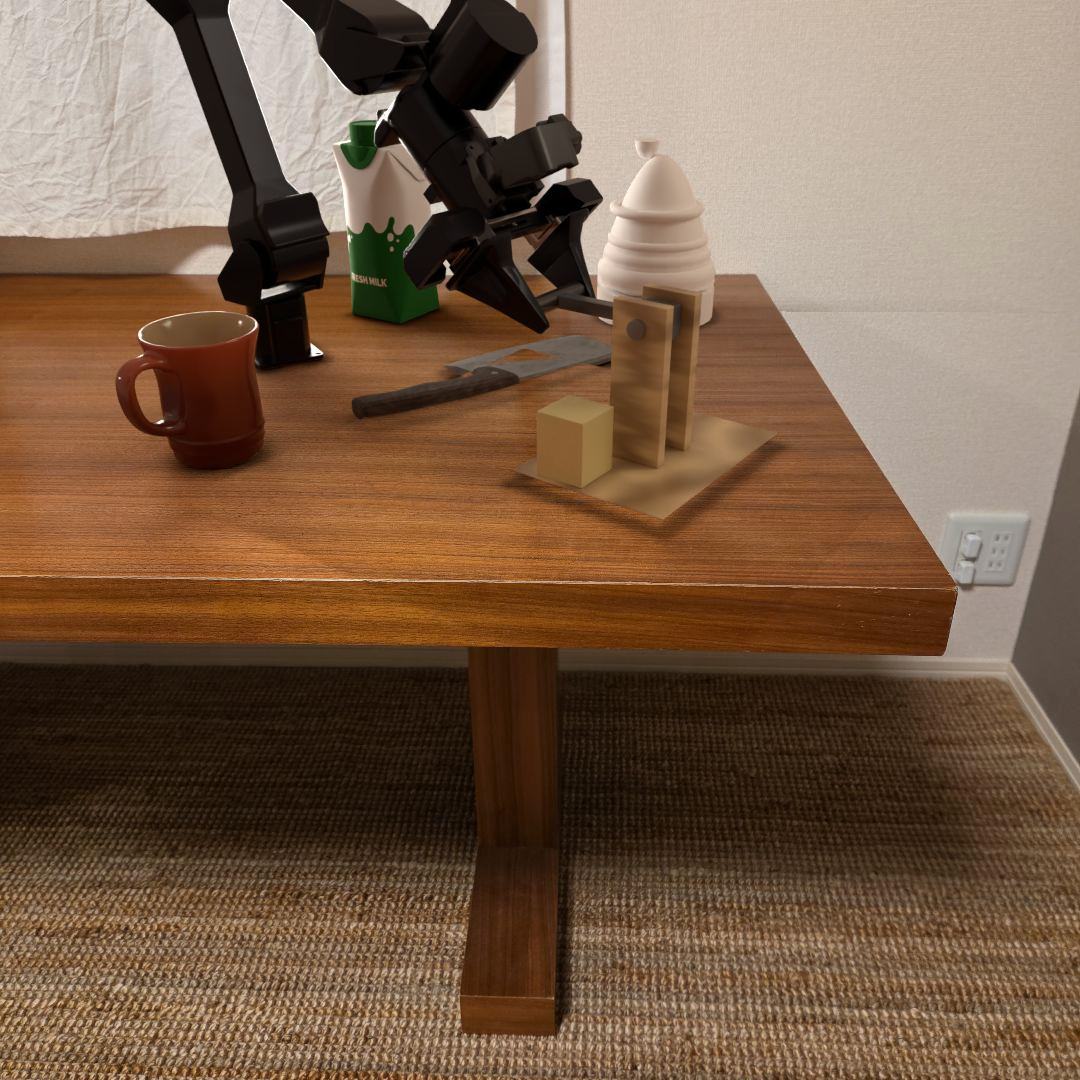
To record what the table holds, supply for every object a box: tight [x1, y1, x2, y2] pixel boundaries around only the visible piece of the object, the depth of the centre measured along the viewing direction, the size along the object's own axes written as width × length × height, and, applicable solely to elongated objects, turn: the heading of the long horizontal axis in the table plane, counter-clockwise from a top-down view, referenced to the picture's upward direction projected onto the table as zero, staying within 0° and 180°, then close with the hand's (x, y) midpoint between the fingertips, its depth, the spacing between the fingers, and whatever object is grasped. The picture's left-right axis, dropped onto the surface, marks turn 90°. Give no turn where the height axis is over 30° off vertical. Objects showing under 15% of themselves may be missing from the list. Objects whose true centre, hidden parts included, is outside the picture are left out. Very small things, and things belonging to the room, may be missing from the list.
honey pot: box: [596, 137, 716, 326], centre depth 108 cm, size 13×13×18 cm
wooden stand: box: [511, 283, 778, 521], centre depth 75 cm, size 13×18×13 cm
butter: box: [536, 394, 614, 488], centre depth 73 cm, size 4×4×5 cm
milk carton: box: [331, 119, 441, 325], centre depth 109 cm, size 9×9×20 cm
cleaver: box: [350, 334, 612, 420], centre depth 94 cm, size 30×10×2 cm, turn 131°
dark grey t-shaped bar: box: [534, 281, 682, 340], centre depth 75 cm, size 11×6×2 cm, turn 53°
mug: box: [114, 311, 266, 470], centre depth 76 cm, size 12×9×10 cm
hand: (569, 320), depth 77 cm, fingers closed on dark grey t-shaped bar, 6 cm apart
